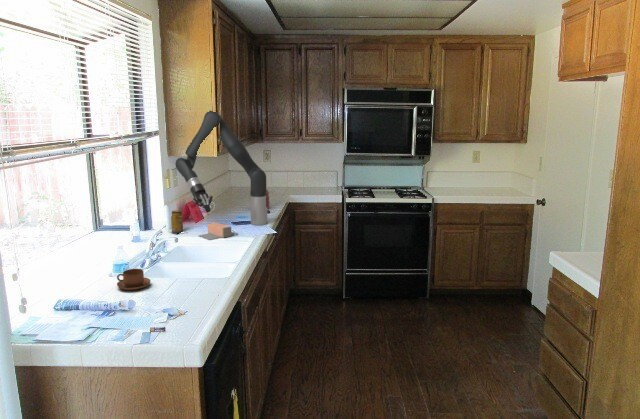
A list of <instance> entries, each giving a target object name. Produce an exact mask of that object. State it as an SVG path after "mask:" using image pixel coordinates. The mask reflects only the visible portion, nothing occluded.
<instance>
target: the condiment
mask: <svg viewBox="0 0 640 419" xmlns="http://www.w3.org/2000/svg"><path fill="white" fill-rule="evenodd" d="M170 219H171V220H170V221H171V231H169V234H170V233H171V234H174V235H178V234H177V233H181V232H183V231H184V233H183V234H187V233H188V231H185V230H184V223H183V221H184V218H183V212H182V210H178V209H177V210H172V211H171V217H170Z"/></svg>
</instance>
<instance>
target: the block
mask: <svg viewBox="0 0 640 419" xmlns="http://www.w3.org/2000/svg"><path fill="white" fill-rule="evenodd" d="M231 232H232V226H229V225H227V224H226V225H225V224H222V223H219V222H211V223H207V234H208V233H211V234H214V235H217V236H221V237H223V238H228V237H232V236H231Z"/></svg>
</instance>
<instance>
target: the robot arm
mask: <svg viewBox="0 0 640 419" xmlns="http://www.w3.org/2000/svg"><path fill="white" fill-rule="evenodd" d="M217 112H218V111H217ZM217 112H213V111H211V110H209V112H208V111H207V112H206V113H205V114H204V116H203V119H202V123H201V125H200V126H199V128H198V131H197V132H196V134H195V135H194V137H193V138H192V139H191V141H192V142H190V143H189V144H190V145H189V144H188V146H187V148H186V149H187V150H186V149H185V151H186V152H185V151H184V152H185V155H186V156H187V157H186V158H183V157H178V158H177V159H176V160H175V168H176V170H177V171H178V172H179V174H180V175H181V176H182V177H183V178H184V180H185V183H186V184H187V187H188V189H189V190H190V193H191V195H192V196H193V198H192V200H191V202H192V203H193V204H195V205H196V206H198V207H200V208H201V207H202V208H203V209H204V210H205V212H206V213H210V212H211V211H212V209H211V204H212V200H213V196H212V195H209V194H208V193H207V192H206V188H205V187H204V185H203V183H202V181H201V179H200V178H199V177H198V174H197V173H196V171H195V170H193V169H194V167H195V164H196V161H197V158H198V155H197V151H198V149H199V147H200V144H201V143H202V142H203V140H205V138H206V137H207V136H208V135H211V133H212V132H213V131H214V130H213V128H214V127H216V126H218V125H219V123H220V136H221V139H220V141H221V143H222V144H223V146H224V147H225V149H226V150H227V152H228V154H230V156H231V157H232V158H233V159H234V160H235V161H236V163H238V164H239V165H240V166H241V167H242V168H243V170H244V171H245V173H246V175H247V176H248V177H249V179H250V190H249V191H250V192H249V193H250V198H249V199H250V224H251V225H252V226H263V225H266V224H268V209H267V208H266V187H267V175H266V172H265V171H264V170H263V169H262V168H261V167H260V166H259V165H258V164H257V163H256V162H255V161H254V160H253V158H252V156H251V155H250V153H249V152H248V150H247V149H246V146H245V145H244V144H243V143H242V141H241V140H240V139H239V138H238V136H237V135H236V134H234V132H233V131H232V130H231V129H230V128H229V127H228V125H227V124H226V122H225V121H224V119H223V117H222V116H221V114H220V113H219V112H218V113H219V114H220V115H219V114H218V113H217ZM212 130H213V131H212ZM211 131H212V132H211ZM208 137H209V136H208ZM196 155H197V156H196Z"/></svg>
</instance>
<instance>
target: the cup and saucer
mask: <svg viewBox="0 0 640 419" xmlns="http://www.w3.org/2000/svg"><path fill="white" fill-rule="evenodd" d="M120 276H122V279H120ZM116 279H117V283H116V285H117V286H116V287H118V288H119V289H120V290H125V291H136V290H140V289H143V288H145V287H148V286H149V285H150V284H151V279H150V278H148V277H145V276H144V269H142V268H129V269H126V270H123V272H122V273H119V274H117V276H116Z"/></svg>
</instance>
